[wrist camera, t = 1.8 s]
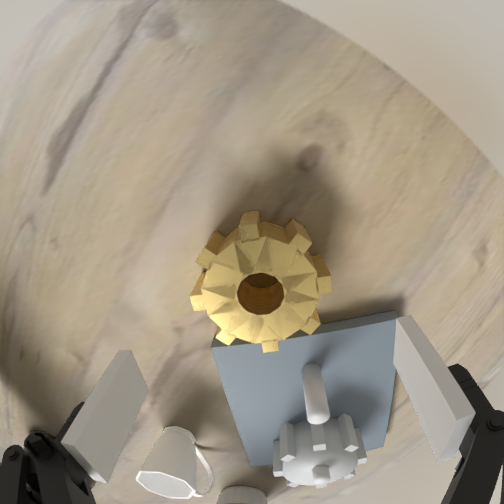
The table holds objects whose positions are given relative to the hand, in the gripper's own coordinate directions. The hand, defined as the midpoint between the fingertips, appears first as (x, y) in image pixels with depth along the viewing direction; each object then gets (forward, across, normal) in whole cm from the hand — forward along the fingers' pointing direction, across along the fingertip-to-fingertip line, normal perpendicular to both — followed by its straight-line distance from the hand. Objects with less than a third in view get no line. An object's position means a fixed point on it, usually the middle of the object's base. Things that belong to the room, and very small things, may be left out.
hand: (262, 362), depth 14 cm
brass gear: (+12, 0, 0) cm, 12 cm away
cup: (+12, -13, -22) cm, 29 cm away
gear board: (+12, +3, -16) cm, 20 cm away
